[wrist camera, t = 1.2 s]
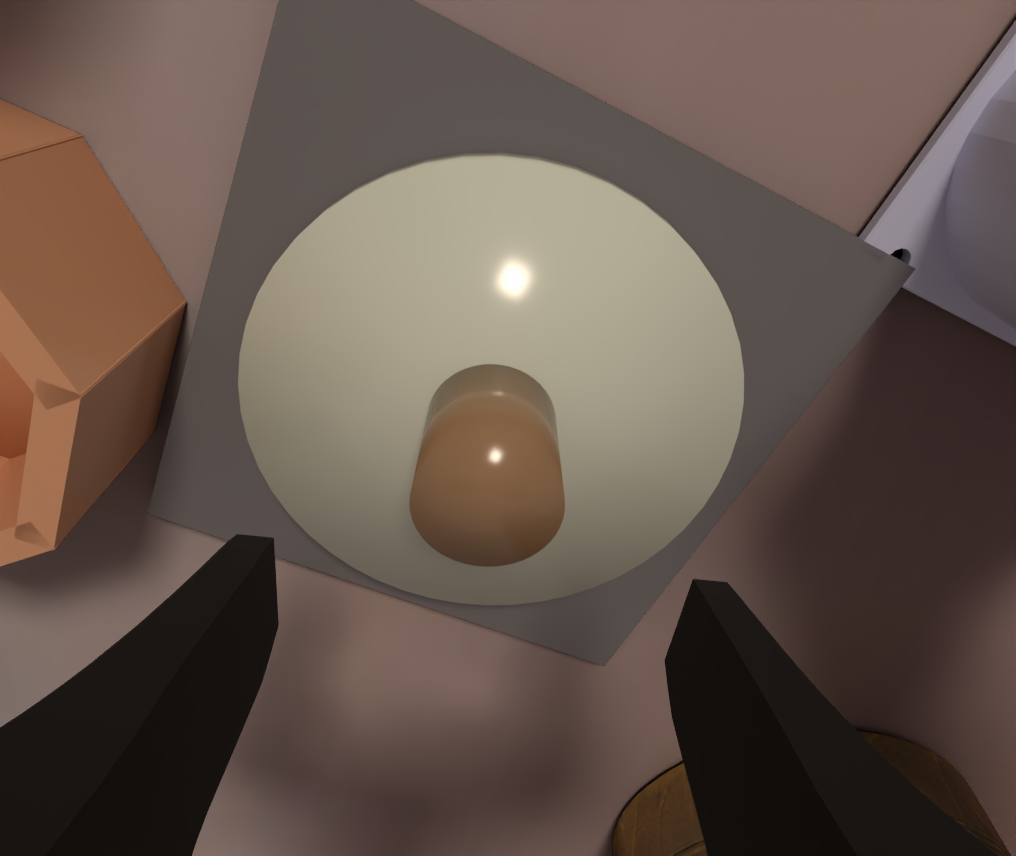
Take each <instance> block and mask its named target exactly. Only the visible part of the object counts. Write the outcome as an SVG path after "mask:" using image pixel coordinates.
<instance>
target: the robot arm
mask: <svg viewBox="0 0 1016 856" xmlns="http://www.w3.org/2000/svg"><path fill="white" fill-rule="evenodd" d="M859 238H860V239H862V240H863V241H865V242H867V243H868V244H870V245H872V246H874V247H876V248H878V249H880V250H882V251H884V252H885V253H887V254H889V255H891V254H892V253H893V252H894V251H895V250H898V249H901V248H902V251H903V254H902V256H901V258H900V260H902V261H903V262H905V263H907V264H908V265H910V266H912V267H914V268H916V269H915V271H914V272H913V273H912V274H911V276H910V277H909V278H908V279H907V281H906V282H905V283H904V285H903V286H902V288H904V289H906V290H908V291H910V292H912V293H914V294H916V295H918V296H919V297H921V298H923V299H925V300H927V301H929V302H931V303H933V304H935V305H937V306H939V307H941V308H943V309H944V310H946V311H948V312H950V313H952V314H954V315H956V316H958V317H960V318H962V319H964V320H966V321H967V322H969V323H971V324H973V325H975V326H977V327H979V328H981V329H983V330H985V331H987V332H989V333H991V334H992V335H994V336H996V337H998V338H1000V339H1002V340H1004V341H1006V342H1008V343H1010V344H1012V345H1014V346H1016V21H1015V22H1014V23H1013V25H1012V26H1011V27H1010V29H1009V30H1008V32H1007V33H1006V34H1005V36H1004V37H1003V38H1002V40H1001V41H1000V43H999V44H998V45H997V47H996V48H995V50H994V51H993V52H992V54H991V55H990V56H989V58H988V59H987V61H986V62H985V63H984V65H983V66H982V67H981V69H980V70H979V72H978V73H977V74H976V76H975V77H974V79H973V80H972V81H971V83H970V84H969V85H968V87H967V88H966V90H965V91H964V92H963V94H962V95H961V96H960V98H959V99H958V101H957V102H956V103H955V105H954V106H953V108H952V109H951V110H950V112H949V113H948V114H947V116H946V117H945V119H944V120H943V121H942V123H941V124H940V125H939V127H938V128H937V130H936V131H935V132H934V134H933V135H932V137H931V138H930V139H929V141H928V142H927V143H926V145H925V146H924V148H923V149H922V150H921V152H920V153H919V154H918V156H917V157H916V159H915V160H914V161H913V163H912V164H911V166H910V167H909V168H908V170H907V171H906V172H905V174H904V175H903V177H902V178H901V179H900V181H899V182H898V183H897V185H896V186H895V188H894V189H893V190H892V192H891V193H890V195H889V196H888V197H887V199H886V200H885V201H884V203H883V204H882V206H881V207H880V208H879V210H878V211H877V213H876V214H875V215H874V217H873V218H872V219H871V221H870V222H869V224H868V225H867V226H866V228H865V229H864V230H863V232H862V233H861V235H860V236H859ZM870 249H871V248H870ZM867 251H868V250H867ZM865 252H866V251H865ZM869 252H870V251H869ZM869 252H868V253H869ZM871 252H872V251H871ZM873 252H874V251H873ZM871 254H872V253H871ZM874 254H875V253H874ZM874 254H873V255H874ZM878 254H879V253H878ZM878 254H877V256H878ZM875 256H876V255H875ZM879 257H880V255H879ZM882 257H883V256H882ZM876 259H878V258H876ZM876 259H875V260H876ZM881 259H882V258H881ZM876 263H877V262H876ZM277 629H278V607H277V588H276V569H275V549H274V538H272V537H262V536H252V535H242V534H236V535H235V536H234V537H232V538H231V539H230V540H229V541H228V542H227V543H226V544H225V545H224V546H223V547H222V548H220V549H219V550H218V551H217V552H216V553H215V554H214V555H213V556H212V557H211V558H210V559H209V560H208V561H207V562H206V563H205V564H204V565H203V566H202V567H201V568H200V569H199V570H198V571H197V572H196V573H195V574H193V575H192V576H191V577H190V578H189V579H188V580H187V581H186V582H185V583H184V584H183V585H182V586H181V587H180V588H179V589H177V590H176V591H175V592H174V593H173V594H172V595H171V596H170V597H169V598H167V599H166V600H165V601H164V602H163V603H162V604H161V605H160V606H158V607H157V608H156V609H155V610H154V611H153V612H152V613H151V614H150V615H148V616H147V617H146V618H145V619H144V620H143V621H142V622H140V623H139V624H138V625H137V626H136V627H135V628H133V629H132V630H131V631H130V632H129V633H127V634H126V635H125V636H124V637H122V638H121V639H120V640H119V641H118V642H116V643H115V644H114V645H113V646H111V647H110V648H109V649H108V650H106V651H105V652H104V653H103V654H102V655H100V656H99V657H98V658H97V659H95V660H94V661H93V662H92V663H90V664H89V665H88V666H87V667H85V668H84V669H83V670H81V671H80V672H79V673H77V674H76V675H75V676H73V677H72V678H71V679H69V680H68V681H67V682H65V683H64V684H63V685H61V686H60V687H59V688H57V689H56V690H55V691H53V692H52V693H50V694H49V695H47V696H46V697H45V698H43V699H42V700H40V701H39V702H38V703H36V704H35V705H33V706H32V707H30V708H29V709H28V710H26V711H25V712H23V713H22V714H20V715H19V716H17V717H16V718H14V719H13V720H11V721H10V722H8V723H7V724H5V725H3V726H2V727H0V856H192V853H193V850H194V847H195V844H196V841H197V838H198V836H199V833H200V830H201V828H202V825H203V822H204V820H205V817H206V815H207V812H208V809H209V807H210V805H211V802H212V800H213V798H214V795H215V793H216V791H217V788H218V786H219V783H220V781H221V779H222V776H223V774H224V772H225V769H226V767H227V765H228V762H229V760H230V758H231V755H232V753H233V750H234V748H235V746H236V743H237V741H238V739H239V736H240V734H241V732H242V729H243V727H244V724H245V722H246V720H247V717H248V715H249V712H250V710H251V708H252V705H253V703H254V700H255V698H256V696H257V693H258V691H259V688H260V686H261V683H262V681H263V677H264V674H265V671H266V667H267V664H268V661H269V657H270V654H271V650H272V647H273V643H274V639H275V636H276V632H277ZM665 667H666V676H667V684H668V692H669V699H670V706H671V713H672V719H673V723H674V727H675V731H676V735H677V739H678V743H679V747H680V751H681V755H682V759H683V762H684V766H685V770H686V774H687V778H688V781H689V785H690V789H691V793H692V797H693V801H694V804H695V808H696V812H697V816H698V820H699V823H700V827H701V831H702V835H703V839H704V842H705V846H706V851H707V855H708V856H998V855H996V854H995V853H994V852H993V851H991V850H990V849H989V848H987V847H986V846H985V845H984V844H983V843H981V842H980V841H979V840H978V839H976V838H975V837H974V836H973V835H972V834H970V833H969V832H968V831H967V830H966V829H964V828H963V827H962V826H961V825H959V824H958V823H957V822H956V821H955V820H953V819H952V818H951V817H950V816H948V815H947V814H946V813H945V812H944V811H942V810H941V809H940V808H939V807H938V806H937V805H935V804H934V803H933V802H932V801H931V800H930V799H929V798H927V797H926V796H925V795H924V794H923V793H922V792H921V791H919V790H918V789H917V788H916V787H915V786H914V785H913V784H912V783H911V782H910V781H909V780H907V779H906V778H905V777H904V776H903V775H902V774H901V773H900V772H899V771H898V770H897V769H896V768H894V767H893V766H892V765H891V764H890V763H889V762H888V761H887V760H886V759H885V758H884V757H883V756H882V755H880V754H879V753H878V752H877V751H876V750H875V749H874V748H873V747H872V746H871V745H870V744H869V743H868V742H867V741H866V740H865V739H864V738H863V737H862V736H861V735H860V734H859V733H858V732H857V731H856V730H855V729H854V728H853V726H852V725H851V724H850V723H849V722H848V721H847V720H846V719H845V718H844V717H843V716H842V715H841V714H840V713H839V712H838V711H837V710H836V709H835V708H834V707H833V706H832V705H831V703H830V702H829V701H828V700H827V699H826V698H825V697H824V696H823V695H822V694H821V692H820V691H819V690H818V689H817V688H816V687H815V686H814V685H813V684H812V683H811V681H810V680H809V679H808V678H807V677H806V676H805V675H804V673H803V672H802V671H801V670H800V669H799V668H798V667H797V665H796V664H795V663H794V662H793V661H792V660H791V658H790V657H789V656H788V655H787V654H786V652H785V651H784V650H783V649H782V648H781V647H780V645H779V644H778V643H777V642H776V641H775V639H774V638H773V637H772V636H771V635H770V633H769V632H768V631H767V630H766V628H765V627H764V626H763V625H762V624H761V622H760V621H759V620H758V619H757V618H756V616H755V615H754V614H753V613H752V611H751V610H750V609H749V608H748V607H747V605H746V604H745V603H744V602H743V600H742V599H741V598H740V597H739V596H738V594H737V593H736V592H735V591H734V590H733V588H732V587H731V586H730V585H729V584H728V583H727V582H718V581H708V580H698V579H693V581H692V584H691V587H690V589H689V592H688V595H687V598H686V601H685V604H684V607H683V609H682V612H681V615H680V618H679V621H678V624H677V627H676V629H675V632H674V635H673V638H672V641H671V644H670V646H669V649H668V652H667V655H666V658H665Z"/></svg>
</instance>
